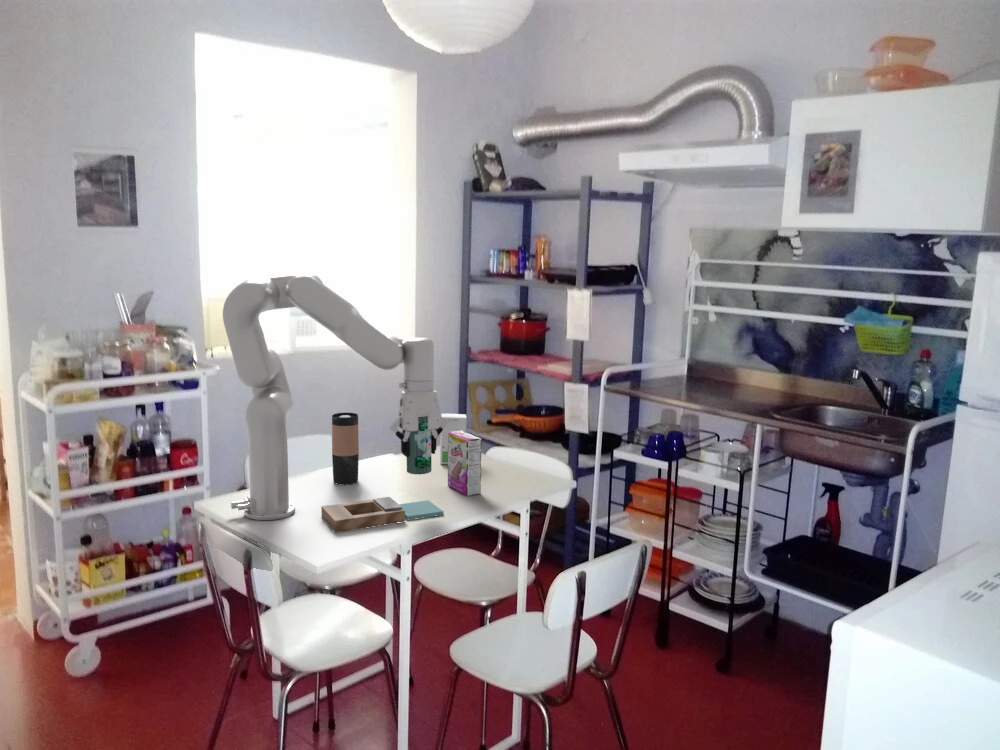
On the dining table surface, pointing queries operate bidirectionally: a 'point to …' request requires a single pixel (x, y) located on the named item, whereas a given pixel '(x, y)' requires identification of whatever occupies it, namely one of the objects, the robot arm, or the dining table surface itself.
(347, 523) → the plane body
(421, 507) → the rubber mat
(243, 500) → the robot arm
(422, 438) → the can
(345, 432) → the travel mug
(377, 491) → the dining table surface
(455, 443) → the candy bar box
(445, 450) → the skincare box
